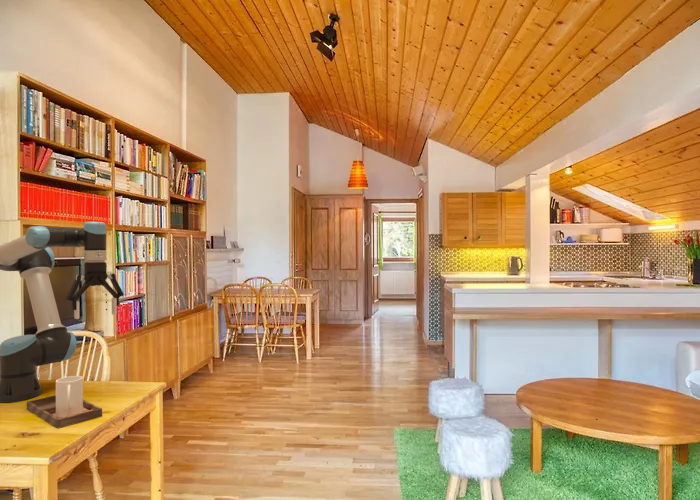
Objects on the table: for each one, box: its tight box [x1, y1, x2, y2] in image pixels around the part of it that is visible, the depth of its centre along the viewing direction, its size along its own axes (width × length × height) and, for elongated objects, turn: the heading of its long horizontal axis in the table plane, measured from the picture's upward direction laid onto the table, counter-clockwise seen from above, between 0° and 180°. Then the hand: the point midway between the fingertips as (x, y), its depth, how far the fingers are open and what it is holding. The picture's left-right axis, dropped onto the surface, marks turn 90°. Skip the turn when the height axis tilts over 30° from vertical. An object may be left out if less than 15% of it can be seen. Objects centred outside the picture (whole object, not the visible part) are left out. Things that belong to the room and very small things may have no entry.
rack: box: [26, 394, 103, 429], centre depth 162 cm, size 30×14×3 cm, turn 51°
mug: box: [55, 375, 84, 418], centre depth 157 cm, size 12×8×12 cm
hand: (96, 316), depth 177 cm, fingers open, 13 cm apart
